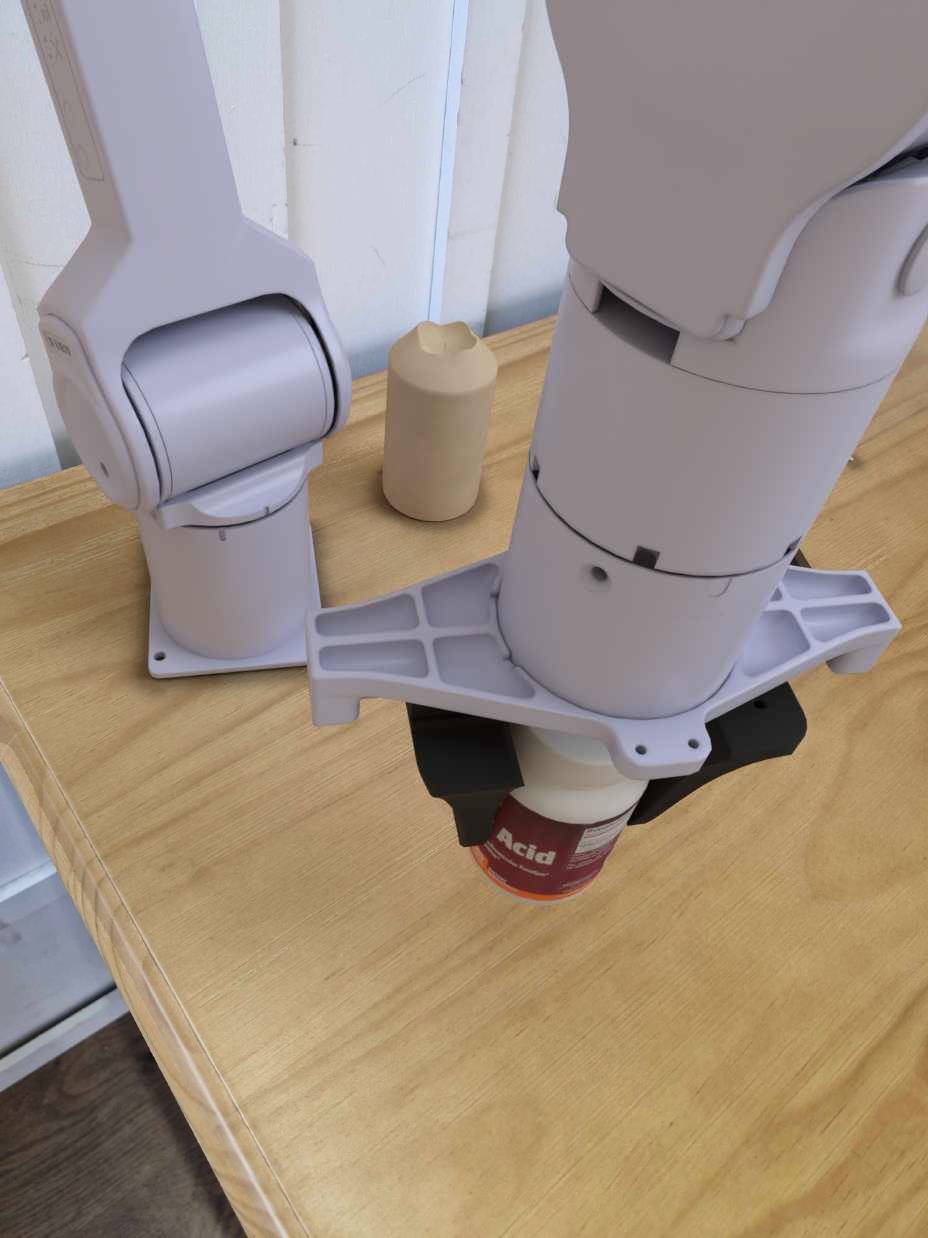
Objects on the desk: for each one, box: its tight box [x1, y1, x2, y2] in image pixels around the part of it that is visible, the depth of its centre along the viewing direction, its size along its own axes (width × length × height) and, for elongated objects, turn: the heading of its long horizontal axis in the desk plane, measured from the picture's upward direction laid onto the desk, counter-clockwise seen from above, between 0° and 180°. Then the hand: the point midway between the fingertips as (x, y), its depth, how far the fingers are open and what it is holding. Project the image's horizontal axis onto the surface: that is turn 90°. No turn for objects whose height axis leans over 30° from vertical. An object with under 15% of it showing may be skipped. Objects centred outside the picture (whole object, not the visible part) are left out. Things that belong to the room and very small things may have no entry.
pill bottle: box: [467, 722, 649, 907], centre depth 26 cm, size 5×5×8 cm
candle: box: [381, 320, 499, 522], centre depth 47 cm, size 6×6×10 cm
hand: (546, 807), depth 28 cm, fingers closed on pill bottle, 5 cm apart
